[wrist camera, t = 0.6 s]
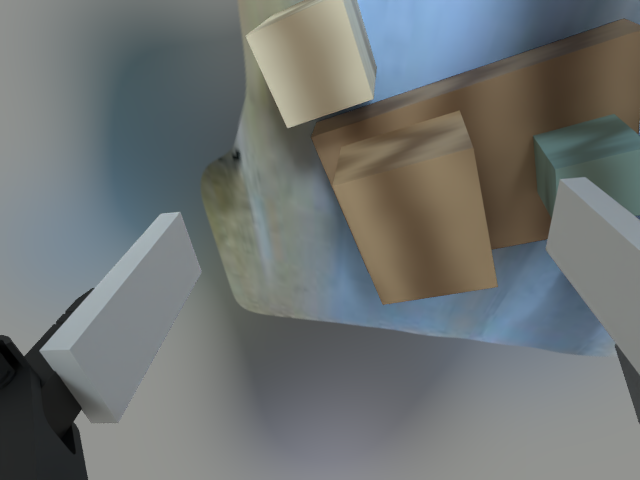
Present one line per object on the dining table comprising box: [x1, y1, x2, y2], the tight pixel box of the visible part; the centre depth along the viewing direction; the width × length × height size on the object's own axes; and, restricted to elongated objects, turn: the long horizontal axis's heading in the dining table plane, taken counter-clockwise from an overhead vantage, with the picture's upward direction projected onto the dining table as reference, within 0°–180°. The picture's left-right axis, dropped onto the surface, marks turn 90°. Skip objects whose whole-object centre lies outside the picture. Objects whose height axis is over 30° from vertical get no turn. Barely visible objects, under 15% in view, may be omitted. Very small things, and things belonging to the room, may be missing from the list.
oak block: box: [246, 0, 377, 128], centre depth 26 cm, size 6×6×7 cm
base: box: [311, 19, 640, 305], centre depth 30 cm, size 22×15×9 cm
